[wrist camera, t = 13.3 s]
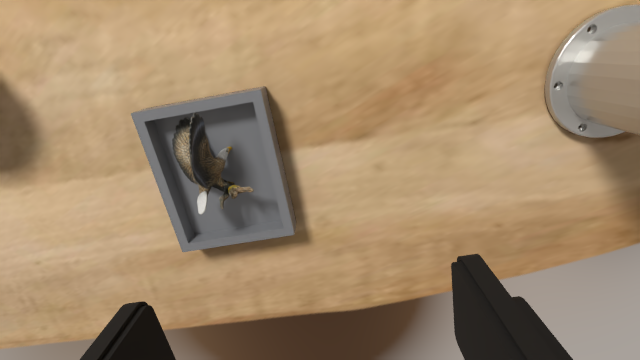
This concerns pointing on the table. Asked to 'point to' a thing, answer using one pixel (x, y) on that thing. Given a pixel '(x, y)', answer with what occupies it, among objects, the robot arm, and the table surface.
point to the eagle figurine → (202, 161)
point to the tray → (240, 168)
